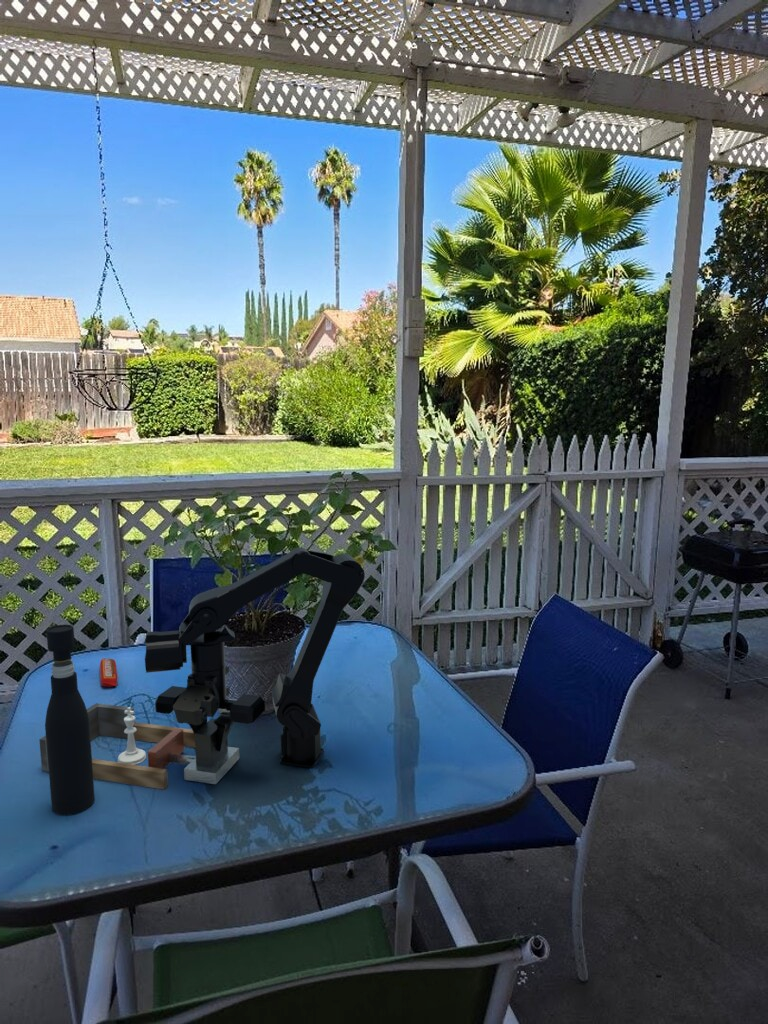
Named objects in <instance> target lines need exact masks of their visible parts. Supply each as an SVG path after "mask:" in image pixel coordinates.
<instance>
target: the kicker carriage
mask: <svg viewBox="0 0 768 1024" xmlns="http://www.w3.org/2000/svg"><path fill="white" fill-rule="evenodd" d="M216 719H217V718H213V717H210V719H209V720H207V723H206V724H205V725H204V726H203V727H201V728H200V729H199V730H198V731H197V732H196V733H195V748H194V749H195V756H194V755H189V754H182V753H183V752H184V751H185V746H184V738H183V729H176V728H177V727H176V728H175V729H174V730H173V731H172V732H171V733H169V734H168V735H167V736H166V737H165V738H163V739H162V740H161V741H160V742H159V743H155V745H154V746H153V747H151V748H150V749H149V750H147V764H148V765H147V767H153V768H160V769H166V767H168V766H169V765H170V764H171V763H173V764H179V765H185V766H186V767H185V768H183V778H184V781H192V782H196V783H197V782H198V783H204V784H211V785H217V784H218V782H220V780H222V778H223V777H224V776H225V775H226V774H227V773H228V772H229V771H230V769H232V767H233V766H234V765H235V764H237V762H238V760H239V759H240V748H239V747H233V746H229V744H228V743H229V742H228V738H227V739H226V742H225V745H224V747H223V749H222V750H221V751H218V746H217V725H216V724H215V723H214V721H215V720H216Z"/></svg>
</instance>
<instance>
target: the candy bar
mask: <svg viewBox="0 0 768 1024" xmlns="http://www.w3.org/2000/svg"><path fill="white" fill-rule="evenodd" d="M116 663H117V662H116V660H115V659H113V658H102V659H101V660H100V663H99V675H100V685H101V686H102V687H108V688H114V687H113V686H115V687H116V686H117V685H118V671H117V664H116Z"/></svg>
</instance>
